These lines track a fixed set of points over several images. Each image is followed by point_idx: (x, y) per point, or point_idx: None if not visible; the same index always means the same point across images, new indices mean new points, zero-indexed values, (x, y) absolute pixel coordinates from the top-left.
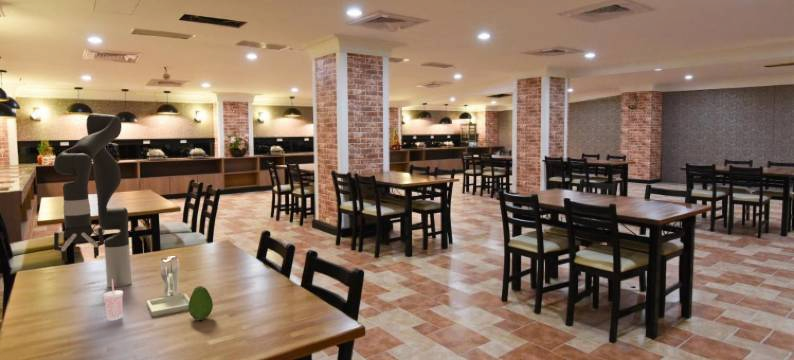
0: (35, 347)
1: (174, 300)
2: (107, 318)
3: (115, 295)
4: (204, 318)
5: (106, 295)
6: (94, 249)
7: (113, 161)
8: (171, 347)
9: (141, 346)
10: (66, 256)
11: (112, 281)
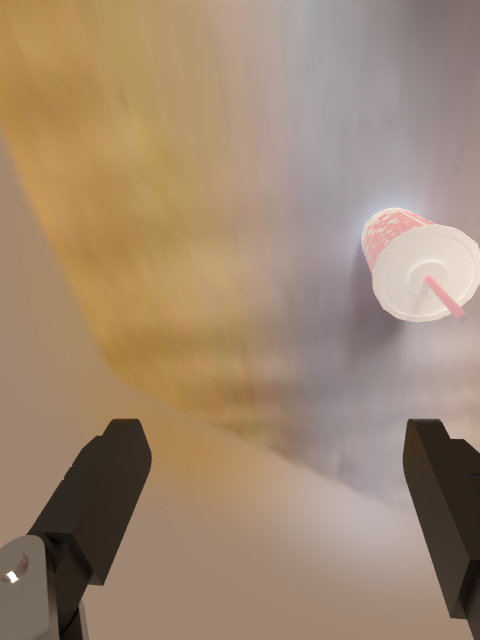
0: (171, 377)
1: None
2: (361, 243)
3: (428, 320)
4: None
5: (387, 295)
6: (449, 588)
7: None
8: None
9: None
10: (129, 516)
11: (455, 315)
